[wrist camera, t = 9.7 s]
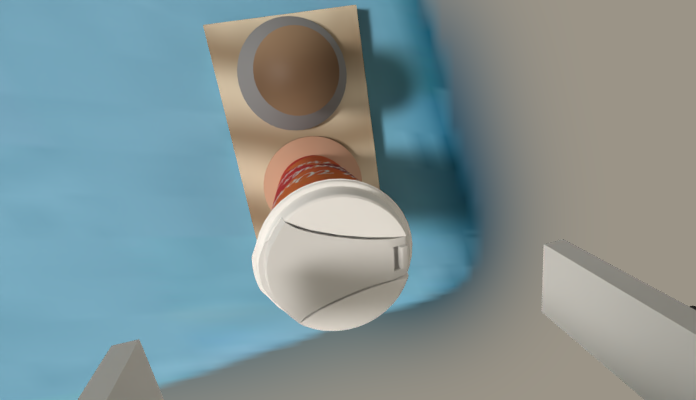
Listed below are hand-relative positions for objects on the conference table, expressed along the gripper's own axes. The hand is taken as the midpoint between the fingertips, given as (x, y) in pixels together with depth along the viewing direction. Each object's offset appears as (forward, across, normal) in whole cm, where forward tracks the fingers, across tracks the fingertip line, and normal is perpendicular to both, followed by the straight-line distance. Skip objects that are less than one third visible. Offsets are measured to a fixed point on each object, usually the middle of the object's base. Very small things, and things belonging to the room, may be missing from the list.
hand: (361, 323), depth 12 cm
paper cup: (+19, 0, -1) cm, 19 cm away
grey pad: (+20, 0, +8) cm, 21 cm away
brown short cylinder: (+19, 0, +8) cm, 21 cm away
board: (+21, 0, +4) cm, 21 cm away
